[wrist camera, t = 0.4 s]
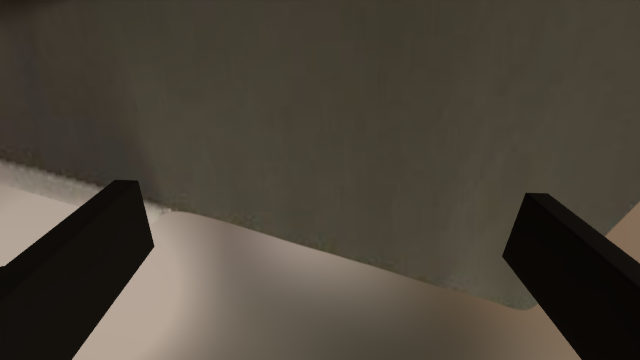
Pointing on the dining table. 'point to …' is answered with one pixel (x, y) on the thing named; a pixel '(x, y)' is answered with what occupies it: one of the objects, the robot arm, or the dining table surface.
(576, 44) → the dining table surface
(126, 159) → the dining table surface
